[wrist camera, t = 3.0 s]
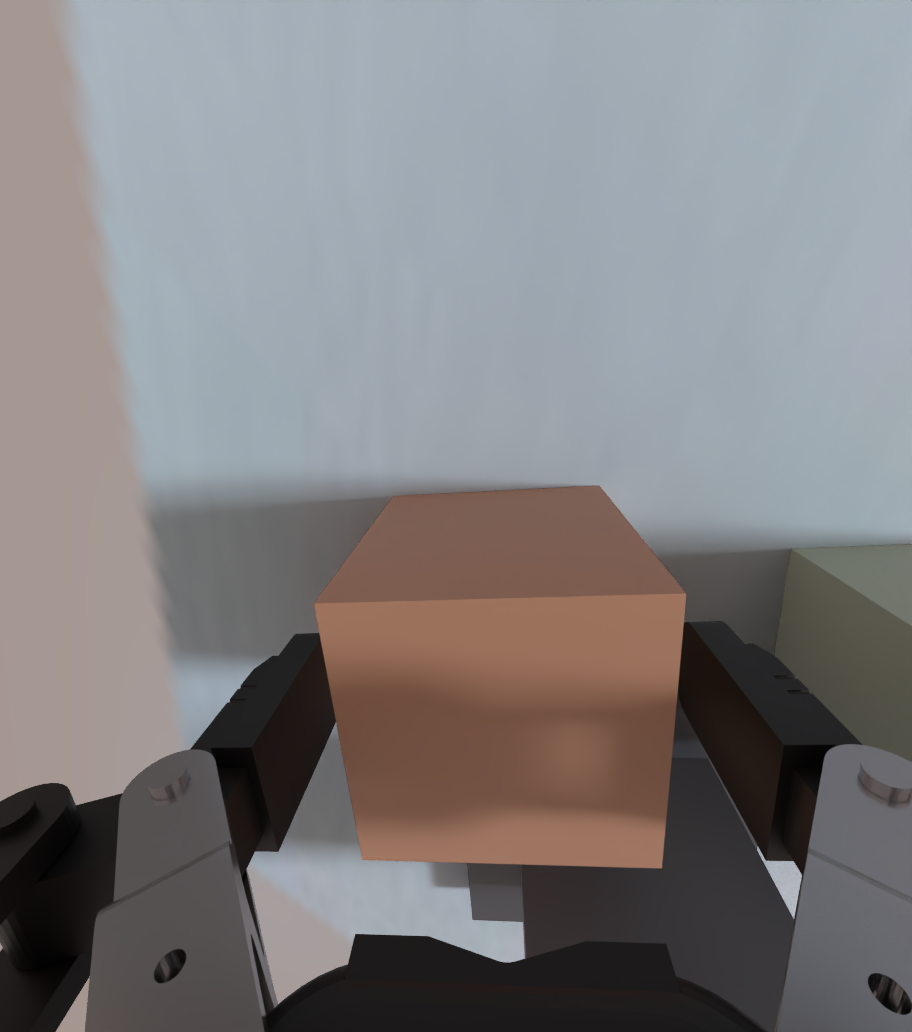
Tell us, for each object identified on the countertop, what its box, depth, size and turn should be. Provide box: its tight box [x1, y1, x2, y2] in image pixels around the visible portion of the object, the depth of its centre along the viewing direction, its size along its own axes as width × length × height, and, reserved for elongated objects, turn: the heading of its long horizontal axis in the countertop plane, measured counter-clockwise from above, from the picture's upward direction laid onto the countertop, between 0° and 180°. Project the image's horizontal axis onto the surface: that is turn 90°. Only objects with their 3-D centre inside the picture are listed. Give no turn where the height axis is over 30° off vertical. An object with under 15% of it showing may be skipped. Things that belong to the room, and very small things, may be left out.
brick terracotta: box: [314, 486, 686, 868], centre depth 11 cm, size 6×6×6 cm
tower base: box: [467, 693, 794, 1032], centre depth 12 cm, size 9×9×7 cm
